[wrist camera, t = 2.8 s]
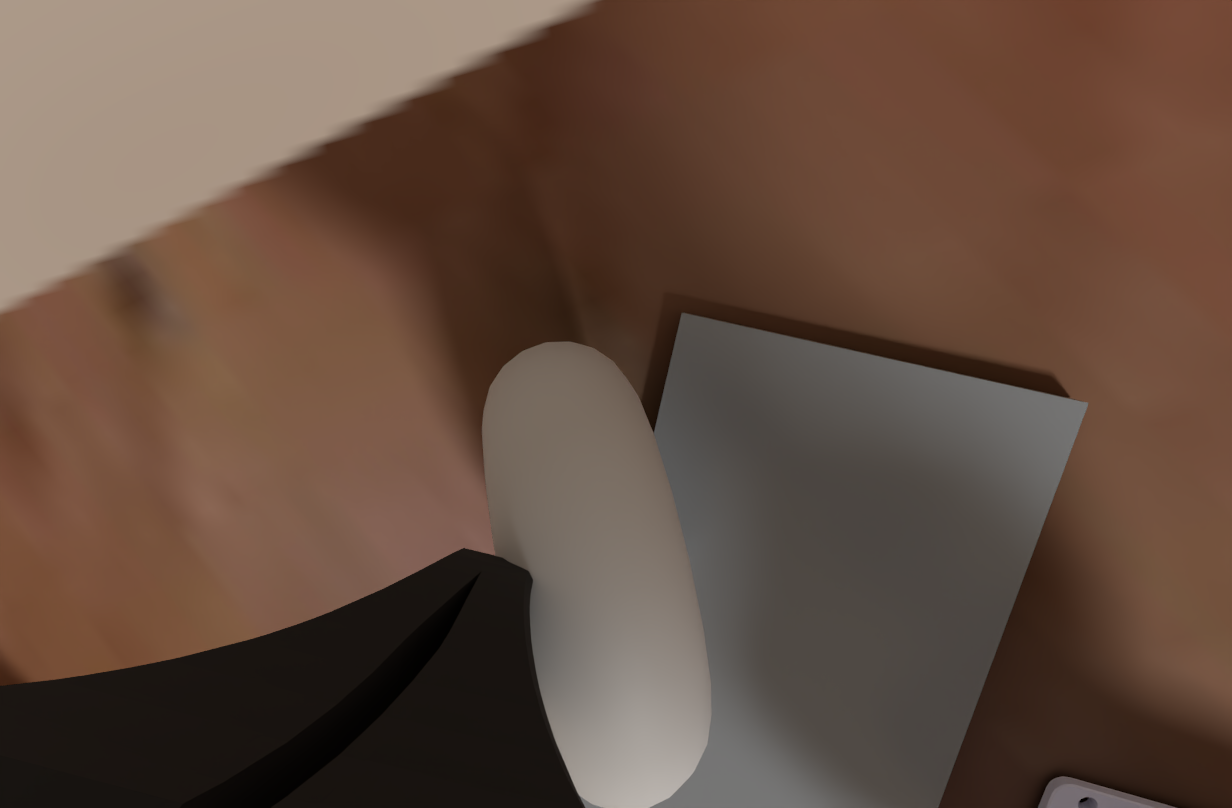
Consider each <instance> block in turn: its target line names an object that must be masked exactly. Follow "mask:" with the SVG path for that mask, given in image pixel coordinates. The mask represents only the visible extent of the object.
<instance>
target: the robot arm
mask: <svg viewBox="0 0 1232 808" xmlns="http://www.w3.org/2000/svg"><path fill="white" fill-rule="evenodd" d="M532 584H533V579H532V577H531V575H530V573H529V571H528V570H526V569H524V568H522V567H519V566H517V565H515V564H513V563H510V562H508V561H507V560H506V559H504V558H503V557H498V556H494V555H490V554H486V553H482V552H477V551H473V550H469V549H465V548H463V549H461V550H459V551H456V552H454V553H452V554H450V555H448V556H447V557H445V558H443V559H441V560H439V561H437V562H435V563H433V564H431V565H429V566H428V567H426V568H424V569H422V570H420V571H418V572H416V573H414V574H412V575H410V576H408V577H406V578H404V579H402V580H400V581H398V582H396V583H394V584H392V585H390V586H388V587H386V588H384V589H382V590H380V591H377V592H375V593H373V594H371V595H368V596H366V597H364V598H361V599H359V600H357V601H355V602H352V603H350V604H348V605H345V606H343V607H341V608H339V609H336V610H334V611H332V612H329V613H327V614H324V615H322V616H319V617H316V618H314V619H311V620H308V621H306V622H303V623H300V624H297V625H294V626H291V627H288V628H285V629H282V630H279V631H276V632H273V633H270V634H267V635H264V636H260V637H257V638H254V639H250V640H247V641H243V642H239V643H235V644H231V645H227V646H223V647H219V648H215V649H212V650H208V651H204V652H200V653H196V654H192V655H188V656H184V657H180V658H176V659H171V660H166V661H161V662H156V663H151V664H146V665H141V666H136V667H131V668H126V669H120V670H114V671H108V672H102V673H96V674H90V675H84V676H78V677H71V678H64V679H57V680H49V681H40V682H32V683H23V684H14V685H5V686H0V808H585V806H584V804H583V802H582V800H581V798H580V796H579V794H578V792H577V790H576V788H575V786H574V784H573V781H572V779H571V777H570V774H569V772H568V769H567V767H566V765H565V762H564V760H563V758H562V755H561V753H560V751H559V748H558V746H557V744H556V741H555V738H554V735H553V732H552V729H551V726H550V723H549V720H548V717H547V714H546V710H545V707H544V703H543V700H542V696H541V692H540V688H539V683H538V679H537V674H536V668H535V662H534V656H533V650H532V641H531V628H530V595H531V589H532ZM1085 797H1089V799H1088V800H1087V801H1085V802H1079V801H1080V800H1081V799H1082V798H1085ZM1038 808H1176V807H1173V806H1169V805H1166V804H1162V803H1159V802H1155V801H1152V800H1148V799H1145V798H1141V797H1138V796H1134V795H1131V794H1127V793H1124V792H1120V791H1117V790H1113V789H1110V788H1106V787H1103V786H1099V785H1096V784H1092V783H1089V782H1085V781H1081V780H1078V779H1074V778H1071V777H1064V776H1062V777H1057V778H1054V779H1053V780H1051V781H1050V782H1049V783H1048V785H1047V786H1046V789H1045V791H1044V794H1043V796H1042V799H1041V801H1040V804H1039V806H1038Z"/></svg>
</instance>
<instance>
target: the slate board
mask: <svg viewBox="0 0 1232 808" xmlns="http://www.w3.org/2000/svg"><path fill="white" fill-rule="evenodd" d="M1087 406H1088V403H1086V402H1083V401H1079V400H1076V399H1072V398H1068V397H1064V396H1059V395H1055V394H1050V393H1046V392H1041V391H1037V390H1032V389H1028V388H1023V387H1019V386H1014V385H1010V384H1005V383H1001V382H996V381H992V380H987V379H983V378H978V377H974V376H969V375H965V374H960V373H956V372H951V371H947V370H942V369H938V368H933V367H929V366H924V365H920V364H915V363H910V362H906V361H901V360H897V359H892V358H888V357H883V356H879V355H874V354H870V353H865V352H861V351H856V350H852V349H847V348H843V347H838V346H834V345H829V344H825V343H820V342H816V341H811V340H807V339H802V338H798V337H793V336H789V335H784V334H780V333H775V332H771V331H766V330H762V329H757V328H753V327H748V326H744V325H739V324H735V323H730V322H726V321H721V320H717V319H712V318H708V317H703V316H699V315H694V314H690V313H685V312H682V314H681V318H680V322H679V327H678V331H677V335H676V340H675V344H674V348H673V353H672V357H671V361H670V365H669V370H668V374H667V378H666V383H665V387H664V391H663V396H662V400H661V404H660V408H659V413H658V417H657V421H656V426H655V430H654V436H655V439H656V443H657V446H658V449H659V452H660V455H661V458H662V462H663V465H664V468H665V471H666V474H667V478H668V481H669V484H670V487H671V490H672V494H673V498H674V502H675V506H676V510H677V513H678V517H679V521H680V525H681V529H682V533H683V537H684V541H685V545H686V549H687V552H688V556H689V560H690V565H691V570H692V575H693V580H694V585H695V590H696V595H697V599H698V604H699V609H700V614H701V619H702V624H703V629H704V636H705V643H706V651H707V658H708V665H709V672H710V679H711V714H712V715H711V722H710V729H709V736H708V743H707V746H706V748H705V750H704V752H703V754H702V756H701V759H700V761H699V763H698V765H697V767H696V769H695V771H694V772H693V774H692V775H691V776H690V777H689V778H688V779H687V780H686V781H685V782H684V783H683V785H682V786H681V787H680V788H679V789H678V790H677V791H676V792H675V793H674V794H673V795H672V796H671V797H670V798H668V799H666V800H664V801H662V802H660V803H658V804H656V805H654V806H652V807H650V808H938V807H939V804H940V801H941V799H942V796H943V793H944V791H945V788H946V785H947V783H948V780H949V777H950V774H951V772H952V769H953V766H954V764H955V761H956V758H957V756H958V753H959V750H960V748H961V745H962V742H963V740H964V737H965V734H966V731H967V729H968V726H969V723H970V721H971V718H972V715H973V713H974V710H975V707H976V705H977V702H978V699H979V696H980V694H981V691H982V688H983V686H984V683H985V680H986V678H987V675H988V672H989V670H990V667H991V664H992V662H993V659H994V656H995V653H996V651H997V648H998V645H999V643H1000V640H1001V637H1002V635H1003V632H1004V629H1005V627H1006V624H1007V621H1008V618H1009V616H1010V613H1011V610H1012V608H1013V605H1014V602H1015V600H1016V597H1017V594H1018V592H1019V589H1020V586H1021V584H1022V581H1023V578H1024V575H1025V573H1026V570H1027V567H1028V565H1029V562H1030V559H1031V557H1032V554H1033V551H1034V549H1035V546H1036V543H1037V540H1038V538H1039V535H1040V532H1041V530H1042V527H1043V524H1044V522H1045V519H1046V516H1047V514H1048V511H1049V508H1050V506H1051V503H1052V500H1053V497H1054V495H1055V492H1056V489H1057V487H1058V484H1059V481H1060V479H1061V476H1062V473H1063V471H1064V468H1065V465H1066V462H1067V460H1068V457H1069V454H1070V452H1071V449H1072V446H1073V444H1074V441H1075V438H1076V436H1077V433H1078V430H1079V428H1080V425H1081V422H1082V419H1083V417H1084V414H1085V411H1086V409H1087ZM579 796H580V795H579ZM580 798H581V800H582V802H583V804H584V806H585V808H603V807H599V806H596V805H592V804H591V803H589V802H588V801H586V800H585V799H584V798H582V797H581V796H580Z"/></svg>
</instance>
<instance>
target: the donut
mask: <svg viewBox="0 0 1232 808" xmlns="http://www.w3.org/2000/svg"><path fill="white" fill-rule="evenodd" d="M482 441H483V457H484V472H485V482H486V492H487V499H488V507H489V515H490V523H491V530H492V538H493V544H494V550H495V556H498V557H503V558H504V559H506V560H507V561H508V562H510V563H513V564H515V565H517V566H519V567H522V568H524V569H526V570H528V571H529V573H530V575H531V577H532V579H533V584H532V589H531V595H530V628H531V641H532V650H533V656H534V662H535V668H536V674H537V679H538V683H539V688H540V692H541V696H542V700H543V703H544V707H545V710H546V714H547V717H548V720H549V723H550V726H551V729H552V732H553V735H554V738H555V741H556V744H557V746H558V748H559V751H560V753H561V755H562V758H563V760H564V762H565V765H566V767H567V769H568V772H569V774H570V777H571V779H572V781H573V784H574V786H575V788H576V790H577V792H578V794H579V795H580V796H581V797H582V798H584V799H585V800H586V801H588V802H589V803H591V804H592V805H596V806H599V807H603V808H650V807H652V806H654V805H656V804H658V803H660V802H662V801H664V800H666V799H668V798H670V797H671V796H672V795H673V794H674V793H675V792H676V791H677V790H678V789H679V788H680V787H681V786H682V785H683V783H684V782H685V781H686V780H687V779H688V778H689V777H690V776H691V775H692V774H693V772H694V771H695V769H696V767H697V765H698V763H699V761H700V759H701V756H702V754H703V752H704V750H705V748H706V746H707V743H708V736H709V729H710V722H711V715H712V714H711V679H710V672H709V665H708V658H707V651H706V643H705V636H704V629H703V624H702V619H701V614H700V609H699V604H698V599H697V595H696V590H695V585H694V580H693V575H692V570H691V565H690V560H689V556H688V552H687V549H686V545H685V541H684V537H683V533H682V529H681V525H680V521H679V517H678V513H677V510H676V506H675V502H674V498H673V494H672V490H671V487H670V484H669V481H668V478H667V474H666V471H665V468H664V465H663V462H662V458H661V455H660V452H659V449H658V446H657V443H656V439H655V436H654V433H653V431H652V428H651V426H650V423H649V421H648V418H647V416H646V414H645V411H644V409H643V406H642V404H641V401H640V399H639V396H638V395H637V393H636V392H635V390H634V389H633V387H632V386H631V384H630V382H629V381H628V379H627V378H626V377H625V376H624V374H623V373H622V372H621V370H620V369H619V368H618V367H617V365H616V364H615V363H614V361H612V360H611V359H609V358H608V357H606V356H605V355H603V354H602V353H600V352H599V351H597V350H596V349H594V348H592V347H588V346H585V345H581V344H578V343H574V342H571V341H566V342H545V343H542V344H540V345H537V346H534V347H532V348H529V349H526V350H523V351H522V352H520V353H519V354H518V355H517V356H515V357H514V358H513V359H512V360H510V361H509V362H508V363H507V364H505V365H504V366H503V367H502V369H501V370H500V372H499V373H498V375H497V376H496V378H495V379H494V381H493V382H492V384H491V385H490V388H489V392H488V395H487V399H486V403H485V407H484V412H483V422H482Z"/></svg>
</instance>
